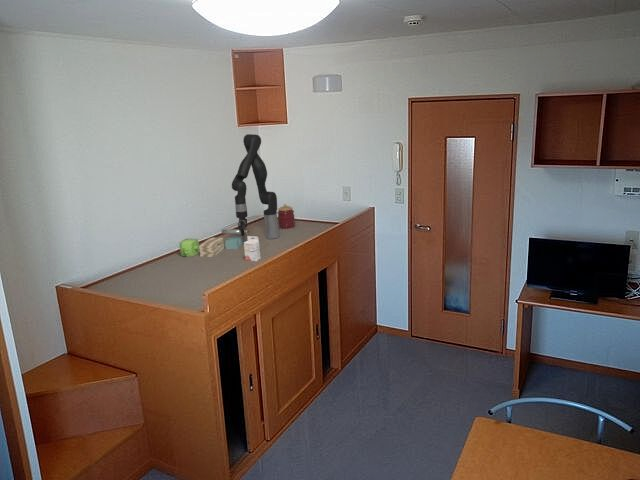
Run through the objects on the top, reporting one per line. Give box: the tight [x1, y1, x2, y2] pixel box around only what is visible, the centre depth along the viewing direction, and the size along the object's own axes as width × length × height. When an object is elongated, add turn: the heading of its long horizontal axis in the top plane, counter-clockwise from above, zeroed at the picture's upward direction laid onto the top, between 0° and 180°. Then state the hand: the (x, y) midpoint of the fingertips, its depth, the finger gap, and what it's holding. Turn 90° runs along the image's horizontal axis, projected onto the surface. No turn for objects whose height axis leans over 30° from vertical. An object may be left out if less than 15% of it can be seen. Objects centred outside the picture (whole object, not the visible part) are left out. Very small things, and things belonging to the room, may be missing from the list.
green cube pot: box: [178, 238, 201, 257], centre depth 354 cm, size 18×10×10 cm, turn 167°
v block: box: [224, 235, 244, 250], centre depth 367 cm, size 8×13×6 cm, turn 170°
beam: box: [199, 237, 225, 258], centre depth 356 cm, size 9×20×8 cm, turn 170°
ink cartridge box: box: [243, 235, 261, 262], centre depth 332 cm, size 9×5×15 cm, turn 65°
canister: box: [277, 204, 296, 229], centre depth 413 cm, size 13×13×18 cm
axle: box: [221, 228, 250, 236], centre depth 365 cm, size 18×4×4 cm, turn 80°
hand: (243, 235), depth 364 cm, fingers closed on axle, 3 cm apart
